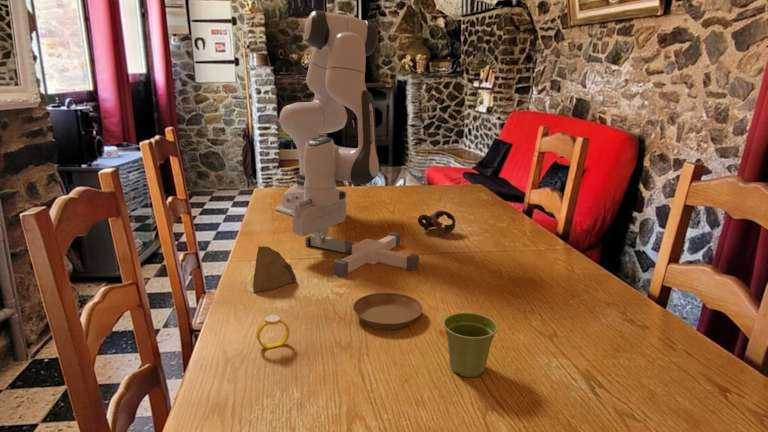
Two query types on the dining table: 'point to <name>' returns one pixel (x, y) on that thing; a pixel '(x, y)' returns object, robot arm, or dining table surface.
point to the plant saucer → (387, 310)
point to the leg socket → (308, 241)
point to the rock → (271, 270)
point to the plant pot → (469, 342)
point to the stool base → (376, 255)
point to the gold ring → (272, 321)
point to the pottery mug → (437, 222)
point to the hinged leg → (334, 244)
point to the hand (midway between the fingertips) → (320, 243)
